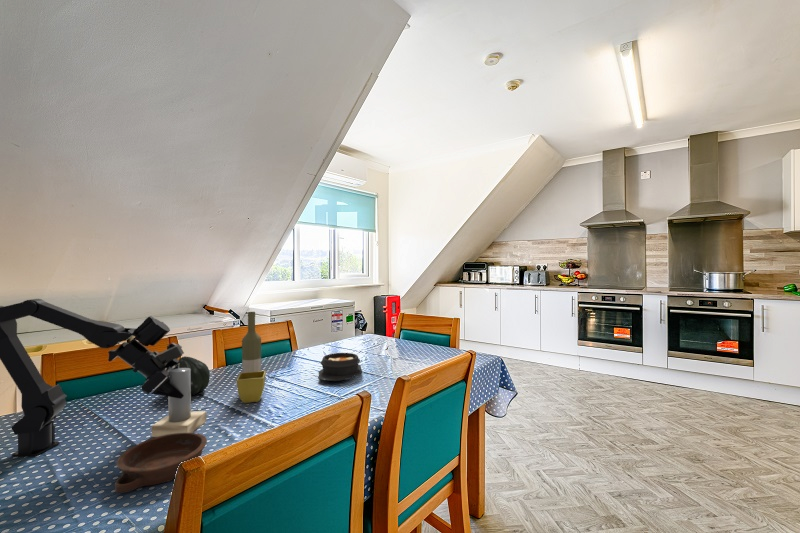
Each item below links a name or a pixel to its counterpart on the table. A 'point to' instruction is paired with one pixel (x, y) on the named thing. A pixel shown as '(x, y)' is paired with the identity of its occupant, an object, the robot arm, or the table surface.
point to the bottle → (251, 347)
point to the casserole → (339, 367)
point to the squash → (196, 373)
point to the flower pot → (251, 386)
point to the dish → (157, 459)
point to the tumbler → (182, 407)
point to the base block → (179, 424)
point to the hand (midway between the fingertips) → (185, 391)
